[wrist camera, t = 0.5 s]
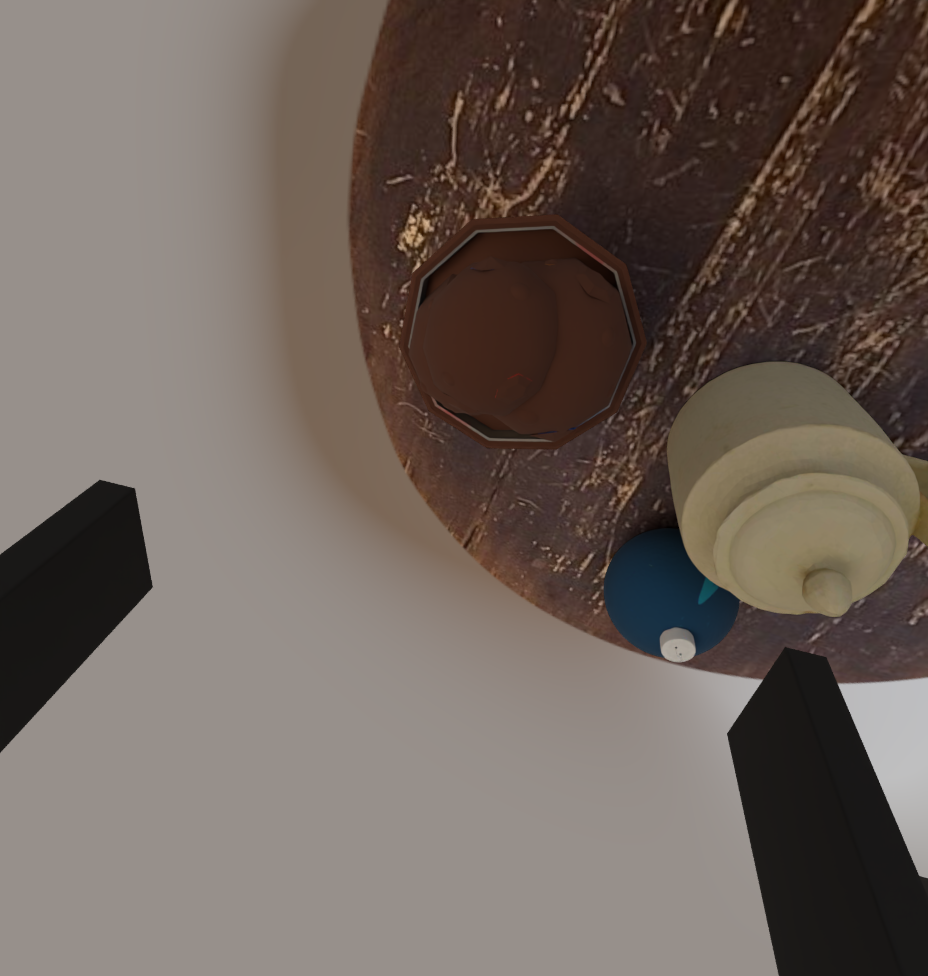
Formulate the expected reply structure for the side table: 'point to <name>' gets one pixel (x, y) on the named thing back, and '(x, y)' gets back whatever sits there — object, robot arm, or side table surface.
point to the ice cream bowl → (522, 332)
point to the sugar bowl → (792, 490)
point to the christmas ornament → (666, 598)
